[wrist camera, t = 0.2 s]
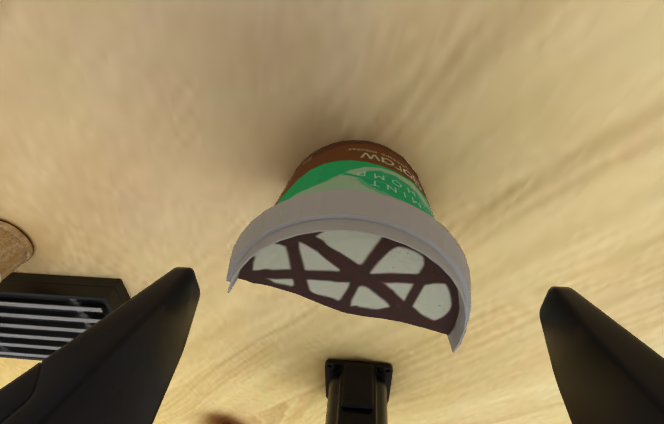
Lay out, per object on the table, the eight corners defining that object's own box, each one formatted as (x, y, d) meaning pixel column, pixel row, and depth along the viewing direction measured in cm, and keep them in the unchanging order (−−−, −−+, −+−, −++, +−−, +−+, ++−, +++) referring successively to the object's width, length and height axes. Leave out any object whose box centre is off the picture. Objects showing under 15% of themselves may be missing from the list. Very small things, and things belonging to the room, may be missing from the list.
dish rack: (154, 349, 38) (108, 429, 31) (-7, 337, 39) (-82, 411, 33) (121, 279, 32) (57, 359, 26) (-66, 268, 34) (-171, 342, 27)
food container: (479, 156, 23) (540, 268, 14) (435, 231, 26) (464, 355, 18) (285, 94, 22) (232, 178, 13) (267, 181, 25) (215, 289, 17)
